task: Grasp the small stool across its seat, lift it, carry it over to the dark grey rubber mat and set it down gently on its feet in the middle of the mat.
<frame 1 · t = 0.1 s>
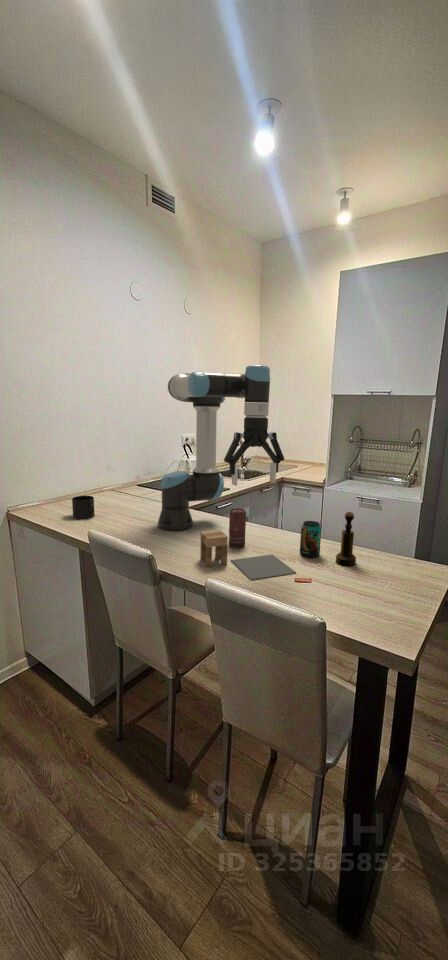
hand: (253, 483, 127), 28 cm above the table, fingers open, 13 cm apart
dark tall knobbed piece: (345, 563, 136), on the table
can: (237, 546, 150), on the table
mat: (262, 567, 131), on the table
stool: (213, 562, 134), on the table
mug: (85, 517, 182), on the table
beverage can: (309, 555, 142), on the table
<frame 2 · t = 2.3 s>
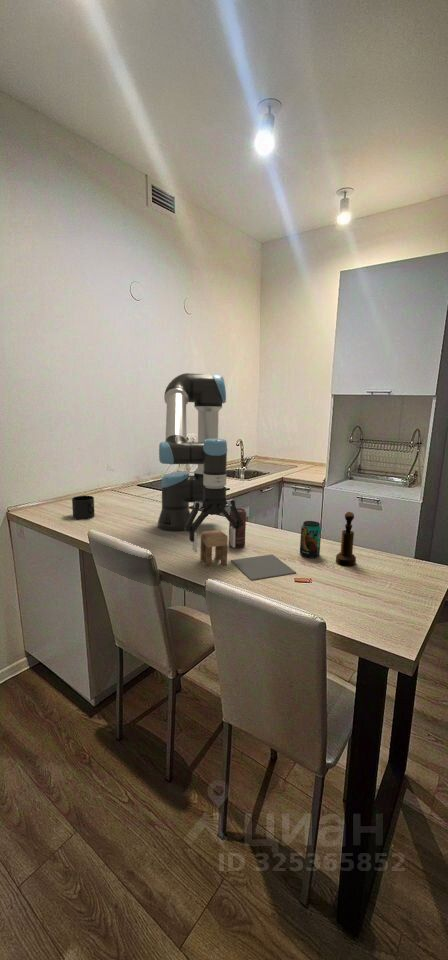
hand: (213, 548, 133), 5 cm above the table, fingers open, 13 cm apart
nothing on the table moved.
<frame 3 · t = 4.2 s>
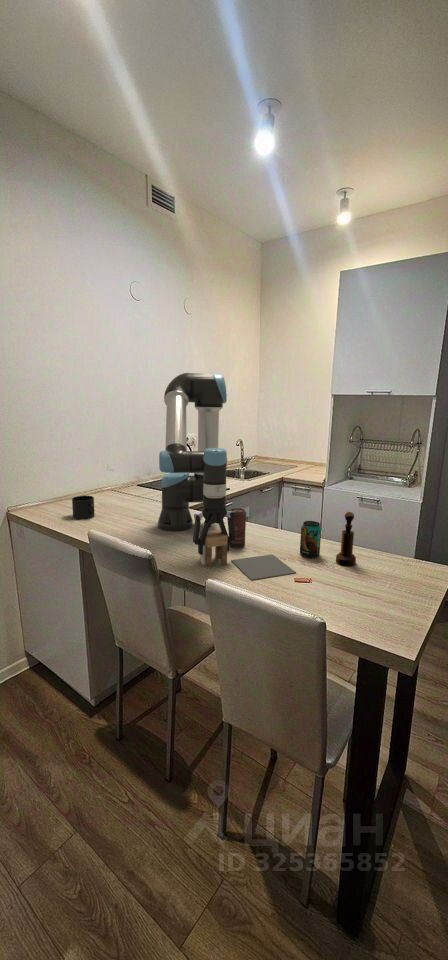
hand: (213, 561, 134), 0 cm above the table, fingers closed on stool, 7 cm apart
stool: (213, 562, 134), on the table, touching gripper
everything else where it was.
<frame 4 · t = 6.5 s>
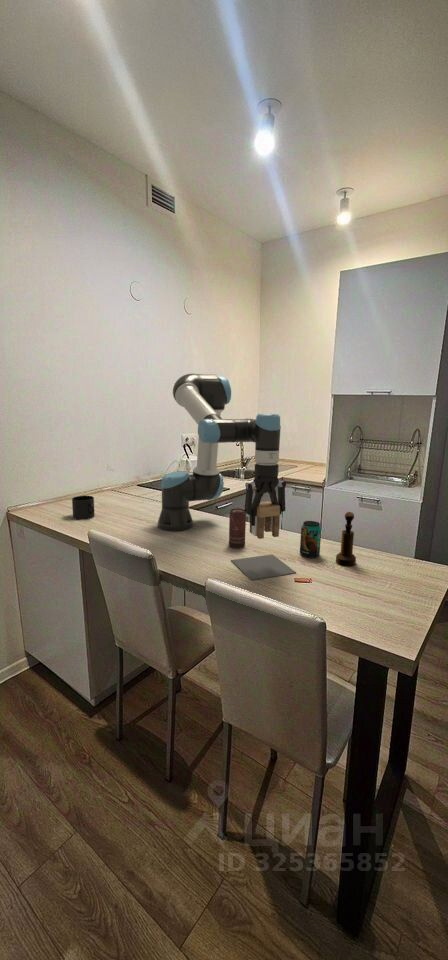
hand: (264, 533, 128), 12 cm above the table, fingers closed on stool, 6 cm apart
stool: (264, 534, 128), point 11 cm above the table, touching gripper
everything else where it was.
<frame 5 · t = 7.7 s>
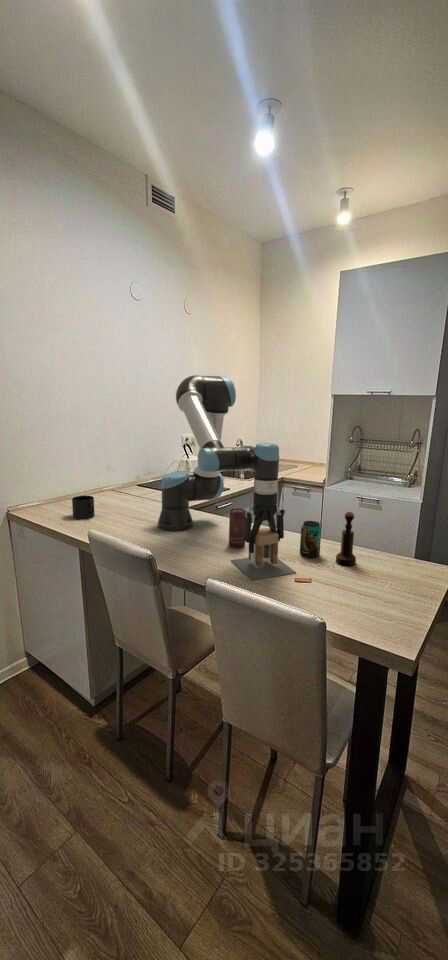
hand: (262, 560, 130), 2 cm above the table, fingers closed on stool, 6 cm apart
stool: (262, 561, 130), point 2 cm above the table, touching gripper
everything else where it was.
when the fingers open (1 cm above the table, at t = 8.6 s): stool stays where it is, resting on mat.
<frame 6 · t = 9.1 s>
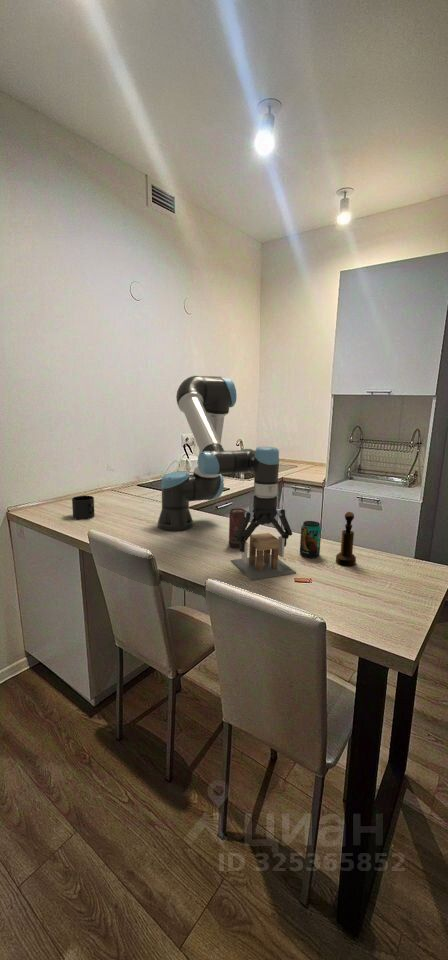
hand: (262, 558, 130), 3 cm above the table, fingers open, 13 cm apart
stool: (263, 565, 131), resting on mat
everything else where it was.
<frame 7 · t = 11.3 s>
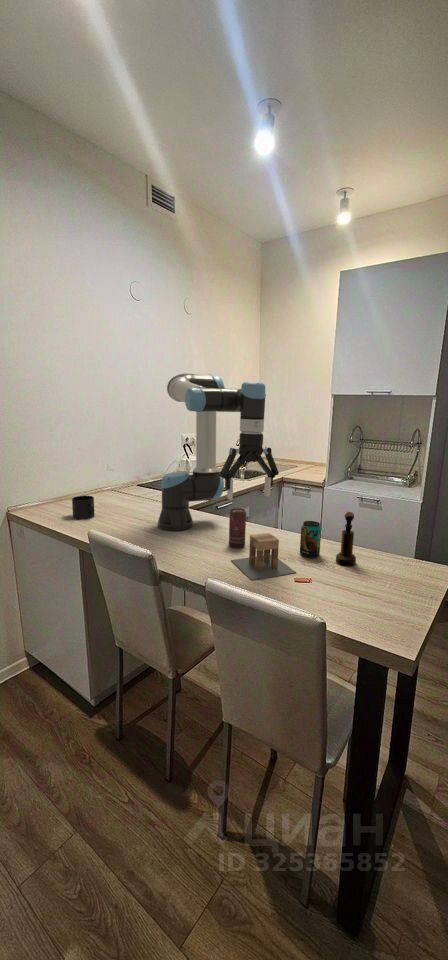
hand: (248, 497, 129), 23 cm above the table, fingers open, 13 cm apart
nothing on the table moved.
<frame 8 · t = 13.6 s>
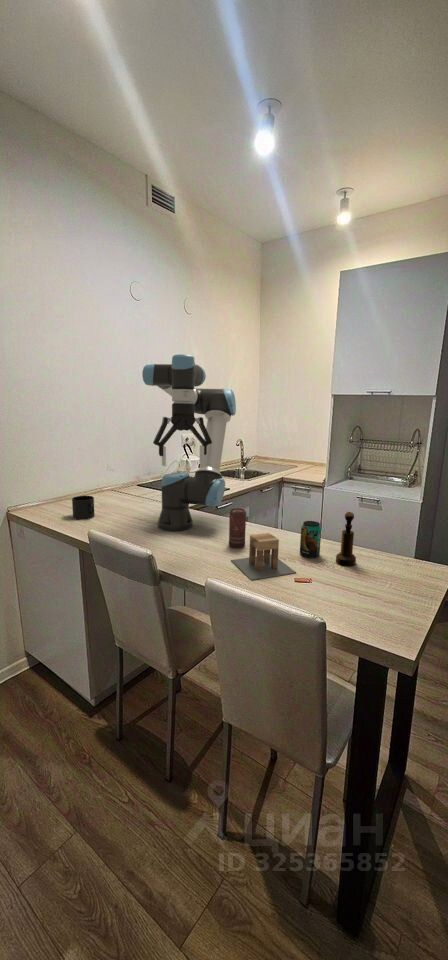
hand: (183, 464, 137), 32 cm above the table, fingers open, 13 cm apart
nothing on the table moved.
at the end: stool inside the target area on the mat (0.2 cm from its centre), point 0.4 cm above the mat's base; stool tilted 0°; the gripper is holding nothing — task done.
